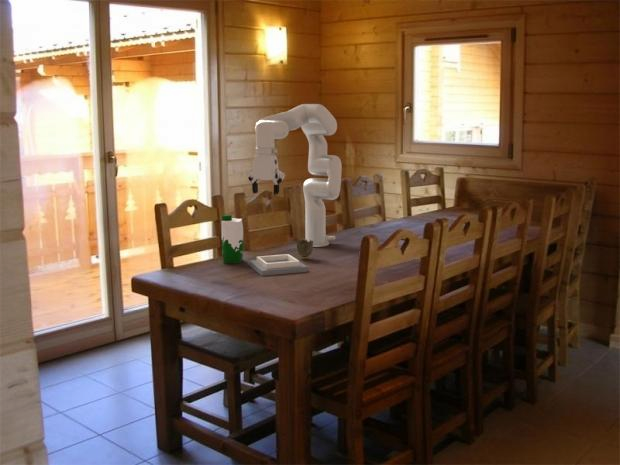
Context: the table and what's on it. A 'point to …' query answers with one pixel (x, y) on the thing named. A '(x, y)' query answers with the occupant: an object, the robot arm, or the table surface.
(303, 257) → the cup
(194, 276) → the table surface
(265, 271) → the stand
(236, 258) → the milk carton
